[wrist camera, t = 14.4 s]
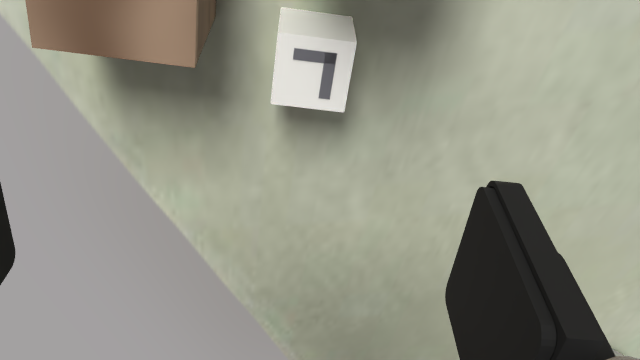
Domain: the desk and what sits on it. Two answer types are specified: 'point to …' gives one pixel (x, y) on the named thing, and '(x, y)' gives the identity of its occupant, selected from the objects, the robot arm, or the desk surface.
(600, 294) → the desk surface
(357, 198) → the desk surface
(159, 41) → the brown open box
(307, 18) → the cube
